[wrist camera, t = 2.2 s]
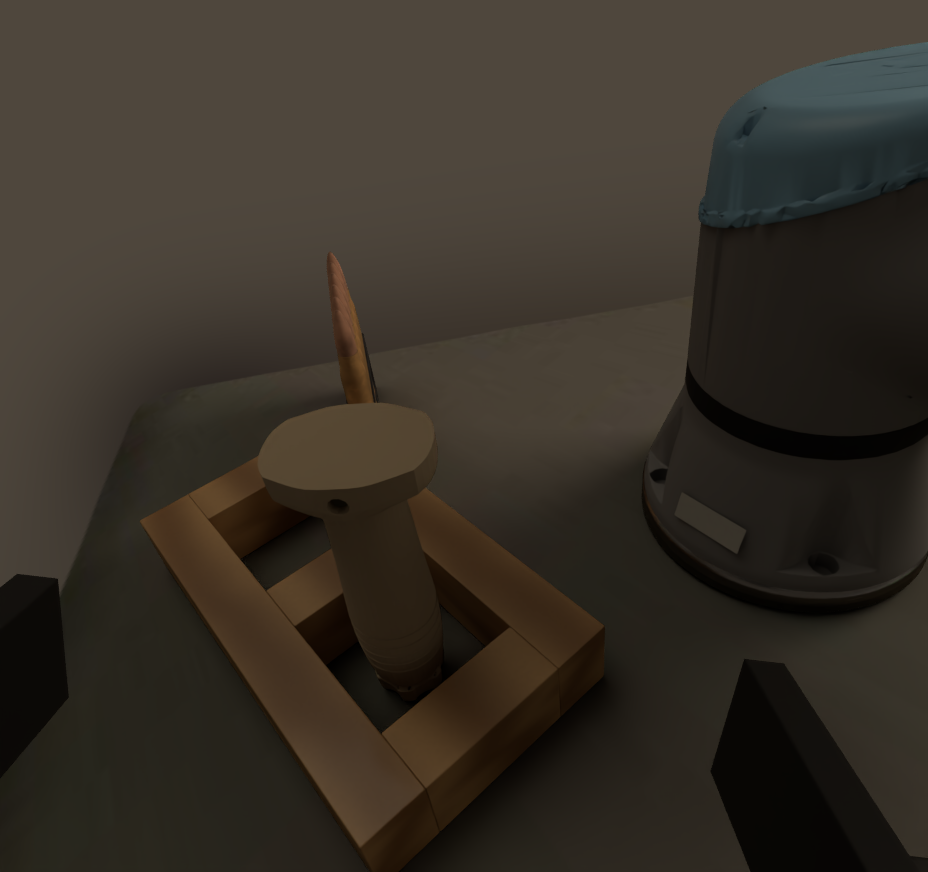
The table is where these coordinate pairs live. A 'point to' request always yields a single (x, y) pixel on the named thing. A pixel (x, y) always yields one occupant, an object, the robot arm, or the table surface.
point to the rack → (331, 633)
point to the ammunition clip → (349, 340)
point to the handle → (369, 525)
